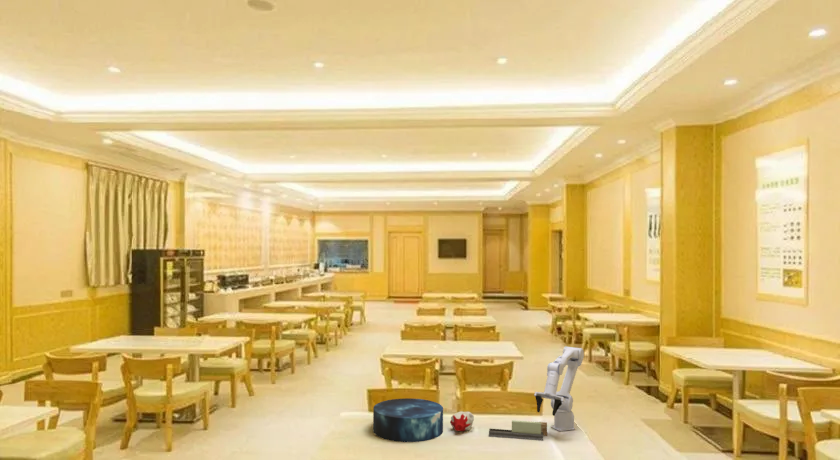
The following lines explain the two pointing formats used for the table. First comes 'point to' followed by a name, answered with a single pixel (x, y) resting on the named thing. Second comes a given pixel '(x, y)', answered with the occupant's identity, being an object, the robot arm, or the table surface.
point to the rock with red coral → (462, 421)
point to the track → (514, 434)
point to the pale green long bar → (526, 427)
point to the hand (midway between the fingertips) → (545, 413)
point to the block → (544, 428)
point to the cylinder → (408, 420)
